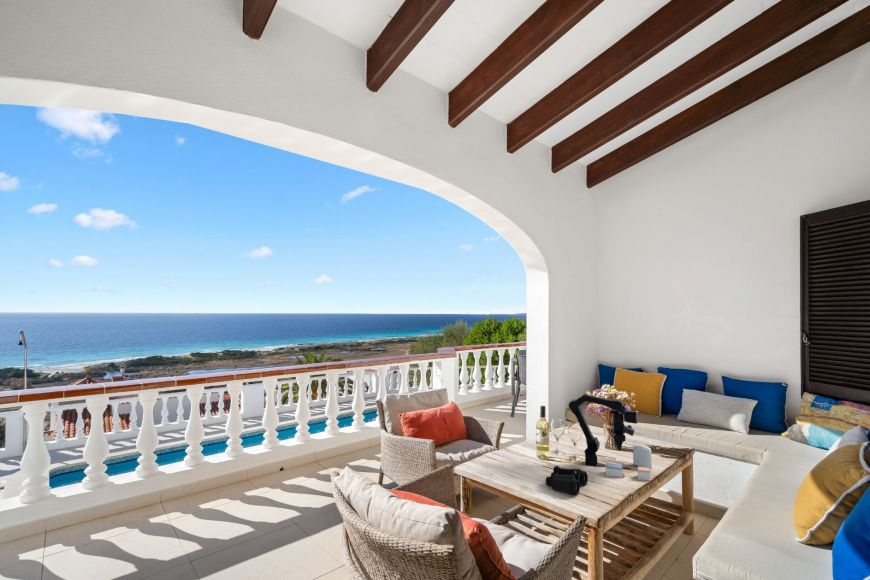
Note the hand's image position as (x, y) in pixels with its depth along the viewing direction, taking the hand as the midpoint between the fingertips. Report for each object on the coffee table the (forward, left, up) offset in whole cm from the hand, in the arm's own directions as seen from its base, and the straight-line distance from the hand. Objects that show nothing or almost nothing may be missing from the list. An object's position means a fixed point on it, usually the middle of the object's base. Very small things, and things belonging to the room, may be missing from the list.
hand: (619, 448), depth 241 cm
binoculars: (-28, -35, -12) cm, 47 cm away
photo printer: (+13, +9, -12) cm, 20 cm away
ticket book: (-4, -10, -12) cm, 16 cm away
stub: (+12, -10, -12) cm, 20 cm away
